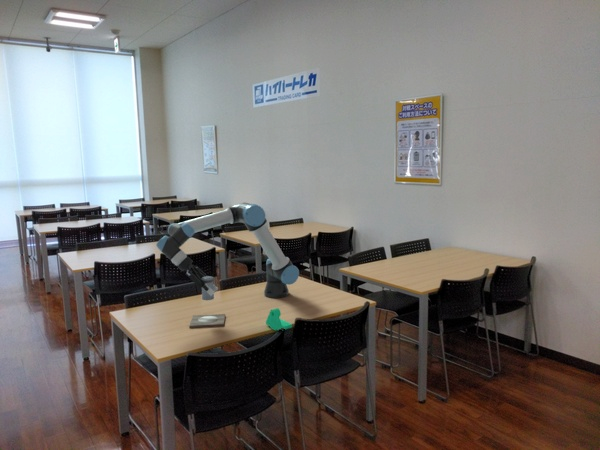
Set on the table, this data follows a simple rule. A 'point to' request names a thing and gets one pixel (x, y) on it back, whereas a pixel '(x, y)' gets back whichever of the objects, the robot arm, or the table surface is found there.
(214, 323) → the mounting plate
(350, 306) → the table surface
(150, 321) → the table surface
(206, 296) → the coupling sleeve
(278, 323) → the green toy figure
